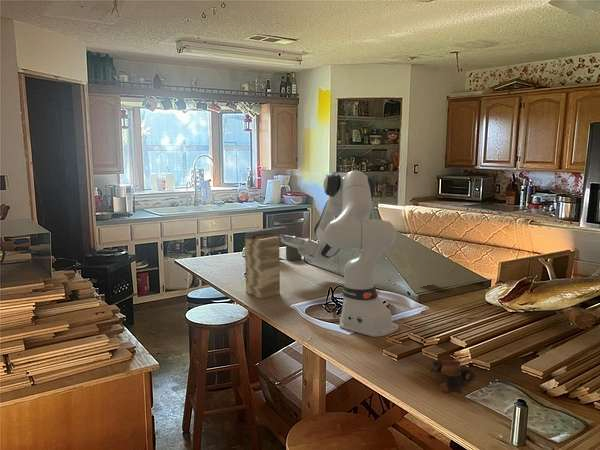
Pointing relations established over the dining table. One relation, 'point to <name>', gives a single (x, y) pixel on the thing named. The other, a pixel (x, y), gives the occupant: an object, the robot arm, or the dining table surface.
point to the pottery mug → (453, 375)
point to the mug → (292, 253)
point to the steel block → (265, 232)
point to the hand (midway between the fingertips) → (287, 236)
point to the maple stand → (262, 266)
